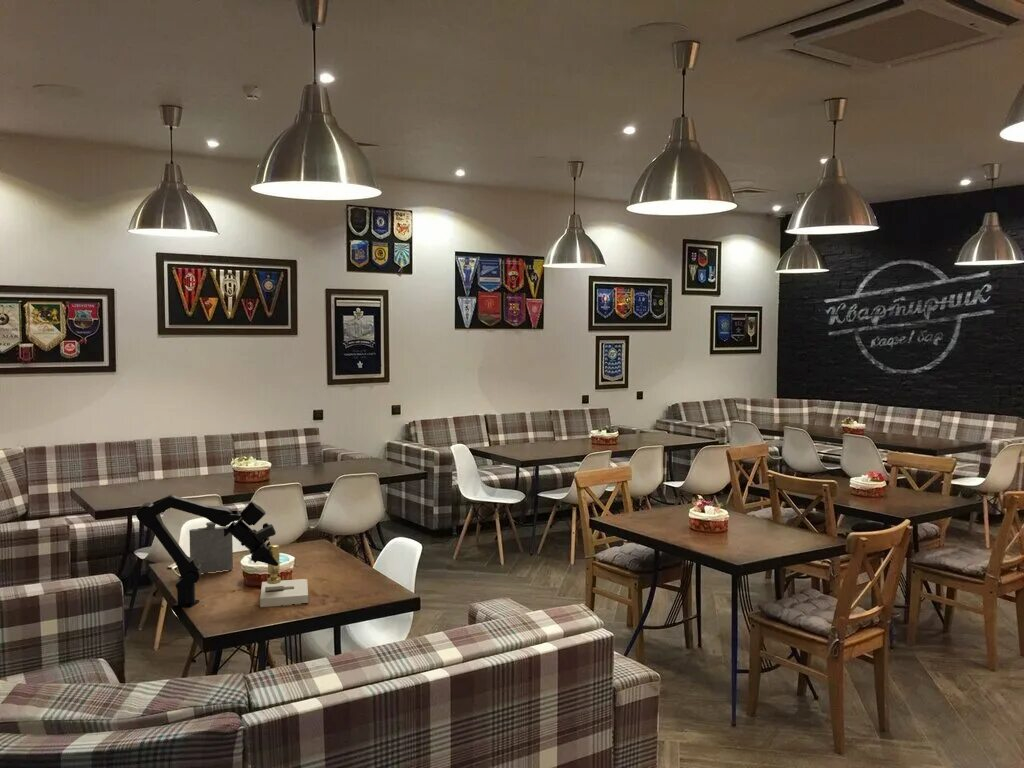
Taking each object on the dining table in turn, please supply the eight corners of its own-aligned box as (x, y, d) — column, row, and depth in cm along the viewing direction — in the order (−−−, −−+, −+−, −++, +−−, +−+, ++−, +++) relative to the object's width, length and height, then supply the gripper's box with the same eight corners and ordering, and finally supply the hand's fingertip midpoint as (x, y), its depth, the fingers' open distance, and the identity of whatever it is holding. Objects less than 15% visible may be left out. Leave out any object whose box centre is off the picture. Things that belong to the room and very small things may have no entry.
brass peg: (276, 584, 294) (275, 548, 293) (264, 583, 295) (263, 547, 294) (283, 580, 298) (283, 544, 298) (271, 579, 300) (271, 544, 299)
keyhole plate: (260, 607, 286) (260, 598, 286) (262, 590, 306) (262, 582, 305) (308, 603, 290) (308, 595, 290) (307, 586, 310) (307, 578, 309)
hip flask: (232, 568, 333) (231, 519, 332) (233, 571, 330) (232, 521, 329) (190, 573, 327) (189, 523, 326) (190, 576, 323) (189, 525, 322)
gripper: (260, 523, 285) (294, 553, 289) (262, 512, 303) (294, 540, 307) (236, 547, 284) (270, 577, 287) (240, 535, 302) (272, 563, 305)
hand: (277, 563), depth 297 cm, fingers closed on brass peg, 4 cm apart
